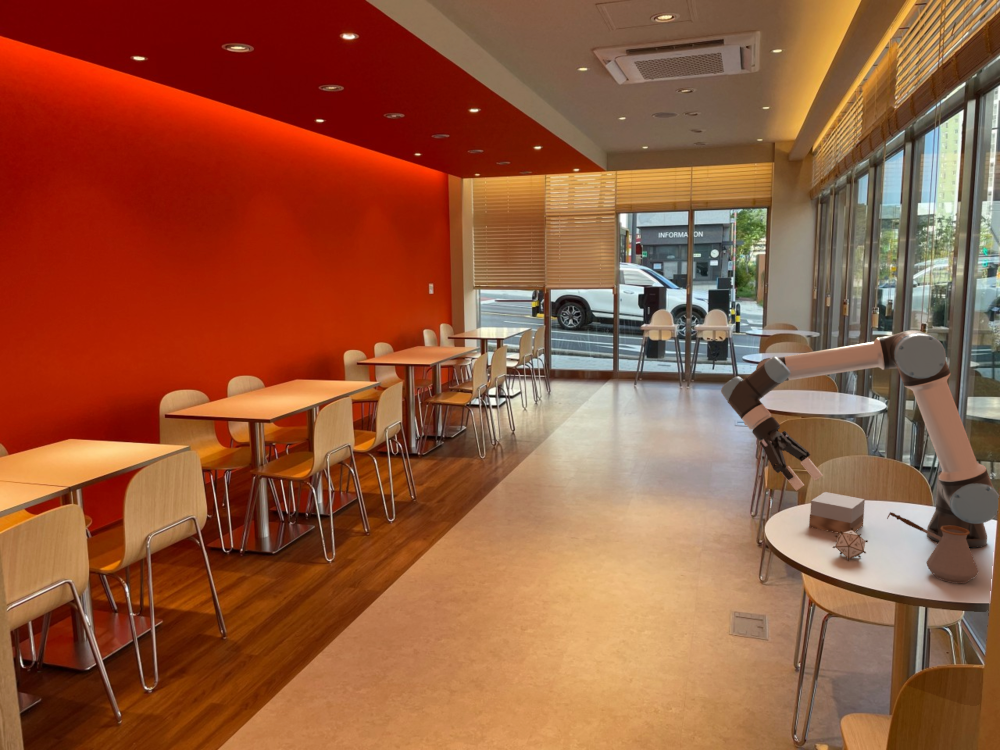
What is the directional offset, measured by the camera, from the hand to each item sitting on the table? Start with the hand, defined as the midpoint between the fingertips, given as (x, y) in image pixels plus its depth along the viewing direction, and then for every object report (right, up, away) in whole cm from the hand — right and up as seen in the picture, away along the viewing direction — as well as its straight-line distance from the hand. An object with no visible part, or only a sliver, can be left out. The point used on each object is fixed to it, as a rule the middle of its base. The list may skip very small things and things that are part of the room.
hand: (809, 483), depth 211 cm
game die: (+9, -20, -5) cm, 23 cm away
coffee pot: (+25, -22, -16) cm, 36 cm away
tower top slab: (+17, -12, +19) cm, 28 cm away
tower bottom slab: (+17, -17, +20) cm, 31 cm away
